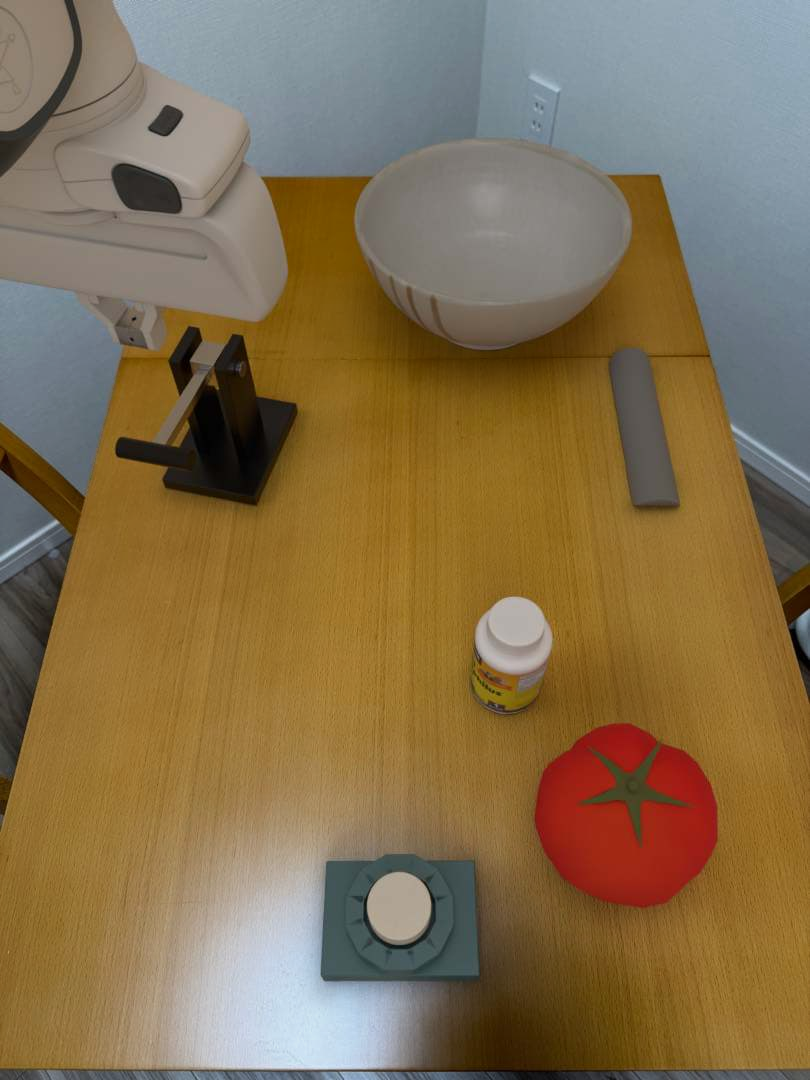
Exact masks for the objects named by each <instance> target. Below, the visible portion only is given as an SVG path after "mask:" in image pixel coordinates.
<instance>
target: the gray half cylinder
mask: <svg viewBox="0 0 810 1080" xmlns="http://www.w3.org/2000/svg"><path fill="white" fill-rule="evenodd" d="M608 368H609V374H610V379H611V386H612V390H613V391H612V392H613V397H614V404H615V408H616V414H617V415H616V416H617V420H618V426H619V432H620V437H621V444H622V448H623V449H622V450H623V455H624V462H625V468H626V473H627V478H628V484H629V490H630V497H631V502H632V503H633V505H634V506H637V507H645V506H646V507H679V506H681V502H680V496H679V492H678V486H677V482H676V478H675V474H674V473H675V472H674V467H673V464H672V459H671V455H670V454H671V453H670V450H669V444H668V440H667V435H666V430H665V426H664V421H663V417H662V412H661V407H660V402H659V397H658V393H657V388H656V383H655V379H654V374H653V369H652V364H651V359H650V357H649V355H648V353H647V352H646V351H644V350H643V349H641V348H638V347H625V348H623V349H620V350H617V351H616V352H615V353H614V354H612V356H611V357H610V359H609V367H608Z"/></svg>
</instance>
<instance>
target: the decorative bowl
mask: <svg viewBox="0 0 810 1080" xmlns="http://www.w3.org/2000/svg"><path fill="white" fill-rule="evenodd" d="M353 223H354V224H353V225H354V233H355V236H356V240H357V243H358V246H359V249H360V252H361V254H362V257H363V259H364V261H365V263H366V265H367V268H368V269H369V271H370V273H371V274H372V276H373V278H374V280H375V281H376V283H377V284H378V286H379V287H380V288H381V290H382V292H383V293H384V294H385V296H386V297H387V298H388V299H389V300H390V301H391V303H393V305H394V306H395V307H396V308H397V309H398V310H399V311H400V312H401V313H402V314H404V316H406V317H408V319H409V320H411V321H412V322H413V323H415V324H416V325H418V326H420V327H421V328H423V329H425V330H426V331H428V332H429V333H432V334H434V335H435V336H437V337H439V338H440V337H441V338H443V339H444V340H447V341H449V342H450V343H453V344H455V345H458V346H461V347H464V348H467V349H472V350H479V351H482V350H483V351H494V350H502V349H506V348H510V347H511V348H512V347H513V346H516V345H518V344H521V343H525V342H528V341H532V340H535V339H539V338H540V337H542V336H544V335H547V334H549V333H551V332H553V331H555V330H557V329H559V328H560V327H562V326H564V325H565V324H567V323H568V322H569V321H571V320H572V319H573V318H575V317H576V316H577V315H579V314H580V313H581V312H582V311H583V310H584V309H585V308H587V306H589V305H590V303H591V302H592V301H593V300H595V298H596V297H597V296H598V295H599V294H600V293H601V292H602V290H603V289H604V287H606V285H607V284H608V282H610V280H611V278H612V277H613V275H614V274H615V272H616V271H617V269H618V268H619V266H620V264H621V262H622V261H623V259H624V257H625V255H626V252H627V250H628V248H629V245H630V243H631V239H632V235H633V217H632V213H631V209H630V206H629V203H628V201H627V199H626V197H625V195H624V194H623V192H622V190H621V189H620V188H619V187H618V185H617V184H616V183H615V182H614V181H613V180H612V179H611V178H610V177H609V176H608V175H607V174H605V172H603V171H602V170H601V169H599V168H598V167H596V166H595V165H593V164H592V163H590V162H589V161H587V160H585V159H583V158H581V157H579V156H577V155H575V154H572V153H570V152H568V151H565V150H562V149H560V148H556V147H555V146H550V145H547V144H543V143H538V142H534V141H529V140H523V139H515V138H505V137H473V138H463V139H455V140H450V141H444V142H439V143H434V144H431V145H429V146H428V145H427V146H425V147H422V148H420V149H419V148H418V149H416V150H414V151H411V152H409V153H407V154H405V155H402V156H401V157H399V158H397V159H395V160H394V161H392V162H390V163H389V164H387V165H386V166H384V167H383V168H382V169H381V170H379V171H378V172H377V173H376V174H375V175H374V176H373V177H372V178H371V179H370V180H369V181H368V182H367V184H366V185H365V186H364V188H363V189H362V191H361V193H360V195H359V197H358V199H357V202H356V204H355V209H354V216H353Z"/></svg>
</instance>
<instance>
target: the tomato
mask: <svg viewBox="0 0 810 1080" xmlns="http://www.w3.org/2000/svg"><path fill="white" fill-rule="evenodd" d="M541 773H542V774H541V776H540V781H539V785H538V789H537V794H536V801H535V809H534V816H533V821H534V826H535V829H536V833H537V837H538V839H539V841H540V845H541V848H542V851H543V852H544V854H545V855H546V857H547V859H548V860H549V861H550V863H551V864H552V866H553V867H554V869H555V870H556V872H557V873H558V874H559V876H560V877H561V878H562V879H564V880H565V881H566V882H568V883H569V884H570V885H571V886H572V887H574V888H575V889H576V890H579V891H581V892H582V893H585V894H587V895H588V896H591V897H593V898H596V899H597V900H599V901H601V902H604V903H608V904H609V903H610V904H616V905H621V906H628V907H634V908H639V909H640V908H642V909H644V908H648V907H653V906H659V905H663V904H667V903H668V902H669V901H670V900H671V899H672V898H673V897H675V895H677V894H678V893H679V892H680V891H681V890H682V889H683V888H684V887H686V885H688V884H689V883H690V882H691V881H692V880H693V879H694V878H696V877H697V876H698V875H699V874H700V873H702V871H703V870H704V868H705V866H706V865H707V863H708V861H709V860H710V858H711V857H712V854H713V852H714V850H715V847H716V845H717V843H718V840H719V839H718V833H719V831H718V830H719V829H718V816H719V815H718V813H719V812H718V810H719V809H718V803H717V800H716V797H715V793H714V791H713V787H712V784H711V782H710V780H709V778H708V777H707V776H706V774H705V772H704V770H703V769H702V768H701V766H700V764H699V762H698V761H697V760H696V759H694V758H693V757H692V756H691V755H690V754H689V753H688V752H687V751H686V750H684V749H681V748H678V747H675V746H672V745H668V744H666V743H663V742H662V739H661V740H660V741H658V740H657V738H655V737H654V736H653V734H651V733H650V732H649V731H646V730H645V729H642V728H641V727H638V726H636V725H635V724H632V723H630V722H618V723H617V722H615V723H614V722H613V723H609V724H605V725H601V726H597V727H595V728H594V729H591V731H589V732H587V733H586V734H584V735H583V736H581V737H580V738H578V739H576V740H575V741H574V743H573V745H572V746H571V747H570V749H568V750H566V751H564V752H562V753H561V754H559V756H557V757H556V758H555V759H554V760H552V761H551V762H550V763H549V764H548V765H547V766H546V767H545V768H544V770H543V771H542V772H541Z"/></svg>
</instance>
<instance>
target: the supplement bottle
mask: <svg viewBox="0 0 810 1080" xmlns="http://www.w3.org/2000/svg"><path fill="white" fill-rule="evenodd" d="M552 649H553V633H552V629H551V626H550V625H549V623H548V621H547V619H546V618H545V615H544V613H543V611H542V609H541V608H540V607H539V605H538V604H537V603H535V602H534V601H532V600H530V599H528V598H526V597H521V596H507V597H505V598H502V599H500V600H498V601H497V602H495V603H494V604H493V605H492V607H491V608H489V609H488V610H487V611H486V612H485V613H484V614H483V615H482V616H481V617H480V619H479V620H478V622H477V624H476V627H475V631H474V639H473V648H472V655H471V656H472V657H471V666H470V674H469V684H470V688H471V690H472V693H473V695H474V697H475V698H476V700H477V701H478V702H479V703H480V704H481V705H482V706H484V707H485V708H486V709H488V710H490V711H491V712H494V713H498V714H502V715H503V714H504V715H513V714H518V713H520V712H523V711H525V710H527V709H528V708H529V707H531V706H532V705H533V704H534V702H535V701H536V700H537V698H538V696H539V695H540V692H541V688H542V686H543V681H544V678H545V675H546V671H547V667H548V664H549V660H550V657H551V653H552Z"/></svg>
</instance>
